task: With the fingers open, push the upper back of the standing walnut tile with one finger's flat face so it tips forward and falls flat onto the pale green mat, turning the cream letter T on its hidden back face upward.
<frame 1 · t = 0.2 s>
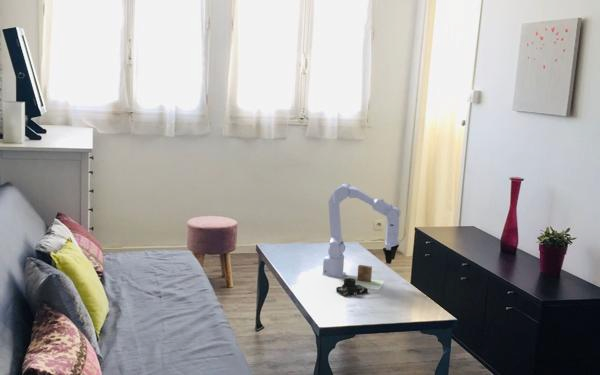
hand: (390, 261, 295), 10 cm above the table, tool pointing down, fingers open, 7 cm apart
film camera: (351, 294, 279), on the table
mat: (362, 283, 292), on the table
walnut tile: (364, 280, 295), resting on mat
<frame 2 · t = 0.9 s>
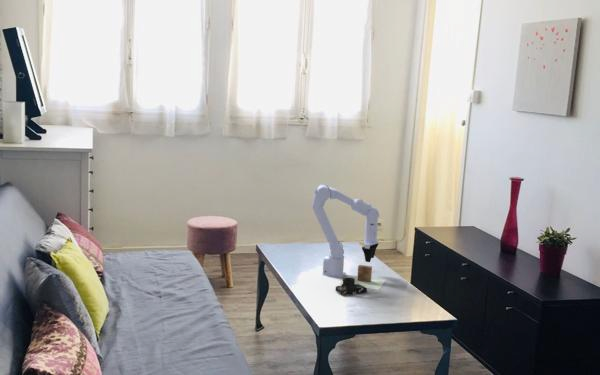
hand: (369, 259, 302), 8 cm above the table, tool pointing down, fingers open, 7 cm apart
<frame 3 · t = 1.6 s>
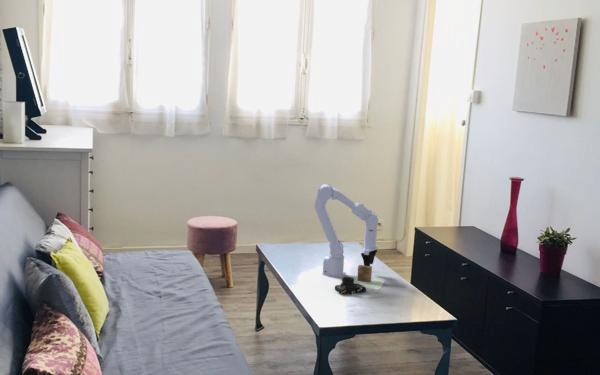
hand: (368, 265, 302), 5 cm above the table, tool pointing down, fingers open, 7 cm apart
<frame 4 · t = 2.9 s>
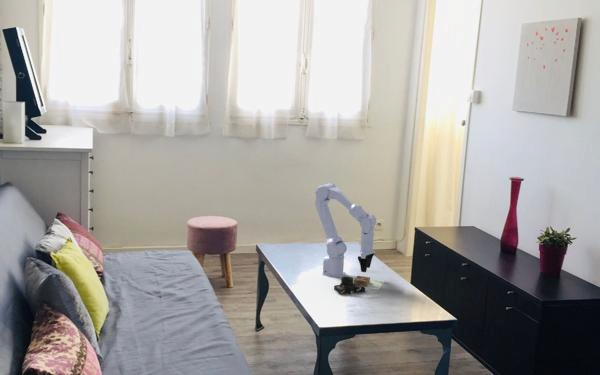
hand: (365, 269, 295), 5 cm above the table, tool pointing down, fingers open, 7 cm apart
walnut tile: (363, 279, 294), point 2 cm above the table, tilted 90°, touching mat
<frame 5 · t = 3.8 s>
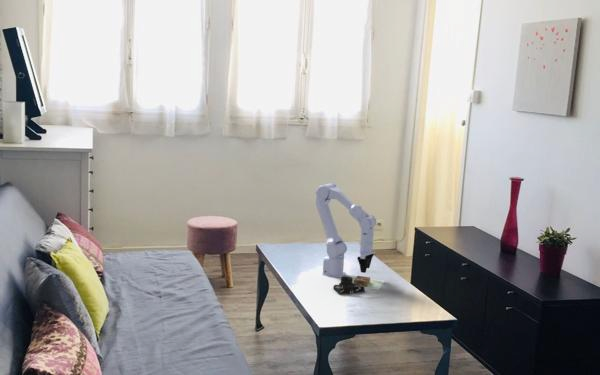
hand: (365, 270, 295), 5 cm above the table, tool pointing down, fingers open, 7 cm apart
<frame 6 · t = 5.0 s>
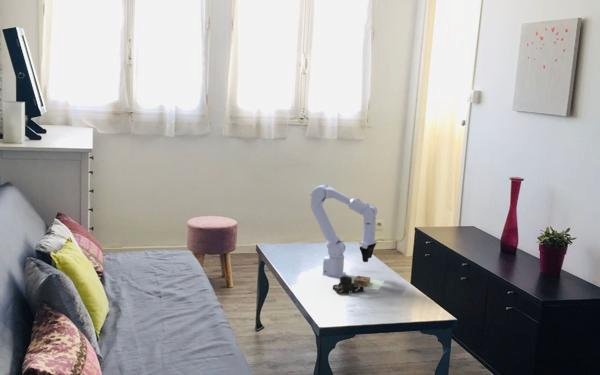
hand: (367, 259, 297), 9 cm above the table, tool pointing down, fingers open, 7 cm apart
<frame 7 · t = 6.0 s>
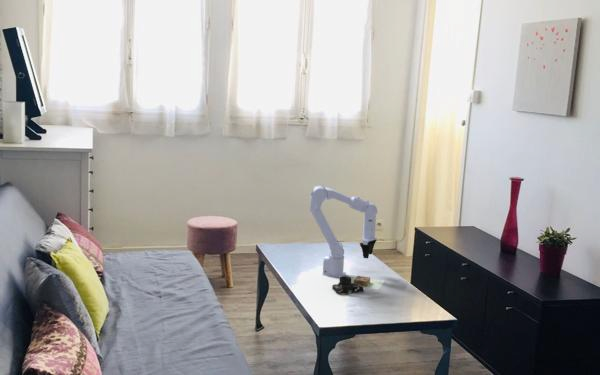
hand: (367, 256, 302), 10 cm above the table, tool pointing down, fingers open, 7 cm apart
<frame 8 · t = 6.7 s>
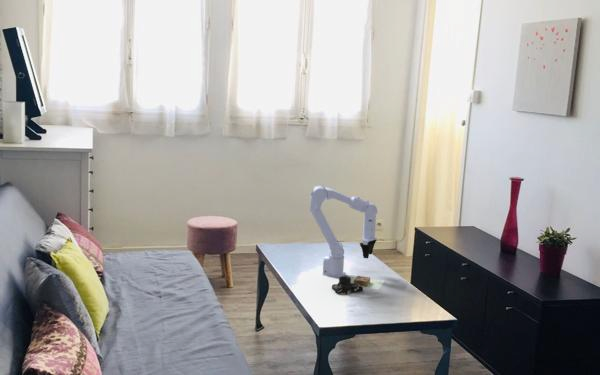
hand: (367, 256, 302), 10 cm above the table, tool pointing down, fingers open, 7 cm apart
film camera: (347, 292, 281), on the table, touching mat
everything else where it was.
at the end: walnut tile tilted 90°; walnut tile inside the target area (1.3 cm from its centre), point 1.6 cm above the table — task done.
